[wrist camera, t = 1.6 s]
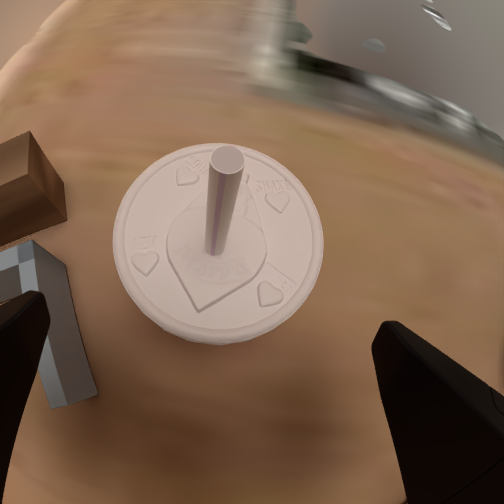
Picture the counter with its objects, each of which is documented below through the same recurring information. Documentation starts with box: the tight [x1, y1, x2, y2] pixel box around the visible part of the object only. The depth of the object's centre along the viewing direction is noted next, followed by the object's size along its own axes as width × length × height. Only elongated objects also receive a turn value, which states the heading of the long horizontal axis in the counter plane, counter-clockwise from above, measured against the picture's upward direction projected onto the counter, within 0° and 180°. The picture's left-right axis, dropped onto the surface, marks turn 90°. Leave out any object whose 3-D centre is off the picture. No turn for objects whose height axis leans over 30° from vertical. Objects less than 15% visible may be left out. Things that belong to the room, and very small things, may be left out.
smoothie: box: [113, 143, 323, 345], centre depth 12 cm, size 6×6×14 cm
